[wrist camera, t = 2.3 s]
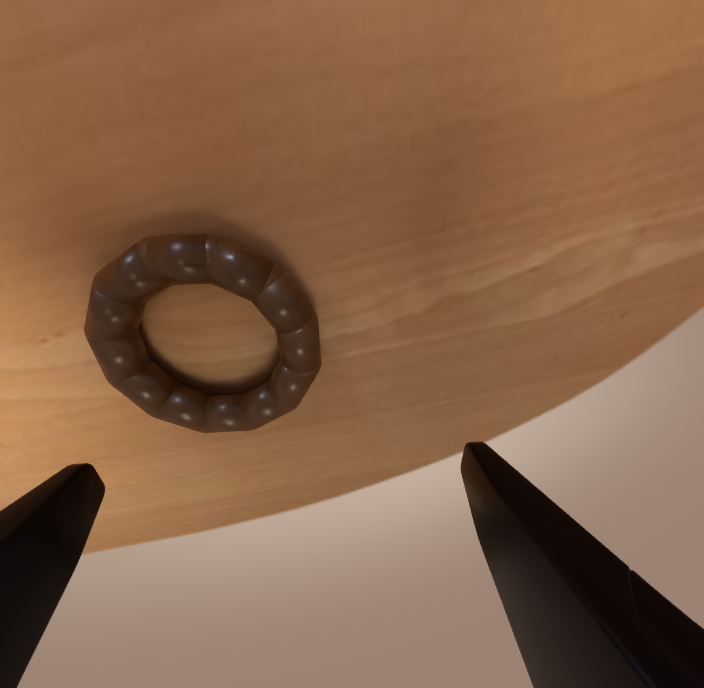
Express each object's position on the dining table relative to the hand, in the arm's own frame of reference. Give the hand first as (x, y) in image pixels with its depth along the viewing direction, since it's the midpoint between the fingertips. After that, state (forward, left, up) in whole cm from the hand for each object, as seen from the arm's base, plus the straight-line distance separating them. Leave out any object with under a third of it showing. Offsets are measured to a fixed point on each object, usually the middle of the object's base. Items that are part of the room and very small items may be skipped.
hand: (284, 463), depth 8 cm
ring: (+4, 0, -6) cm, 7 cm away
